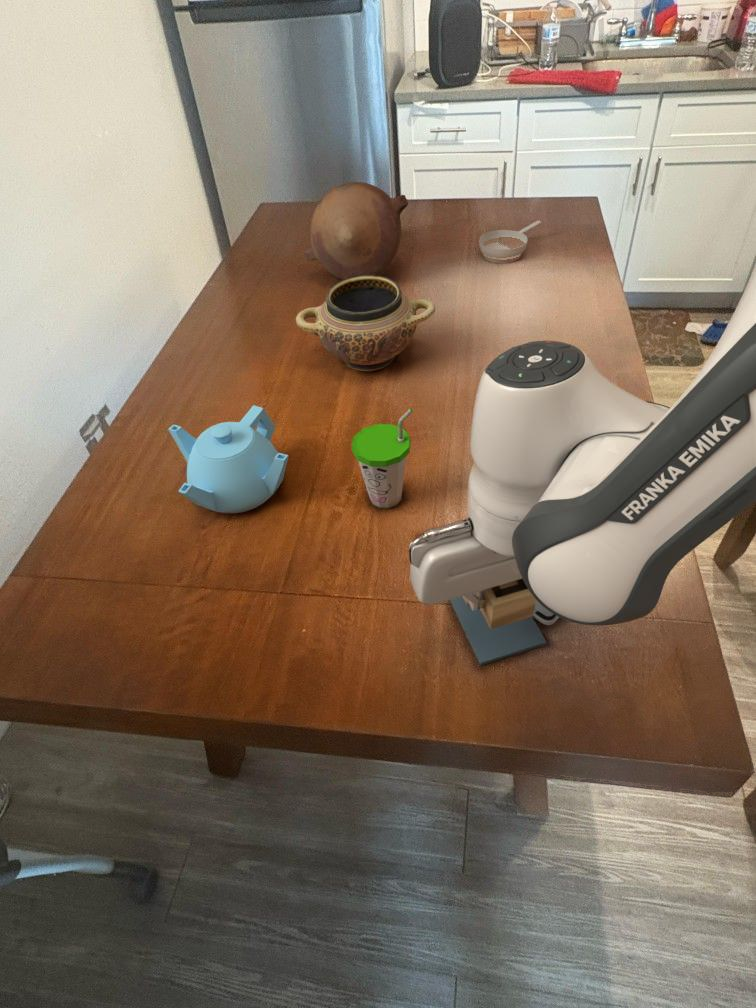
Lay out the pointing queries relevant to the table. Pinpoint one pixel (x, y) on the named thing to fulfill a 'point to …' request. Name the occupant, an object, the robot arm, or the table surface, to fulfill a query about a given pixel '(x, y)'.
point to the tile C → (508, 603)
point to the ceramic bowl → (365, 321)
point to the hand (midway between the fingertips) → (503, 596)
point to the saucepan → (503, 251)
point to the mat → (496, 634)
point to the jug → (356, 230)
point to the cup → (383, 460)
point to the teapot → (232, 463)
